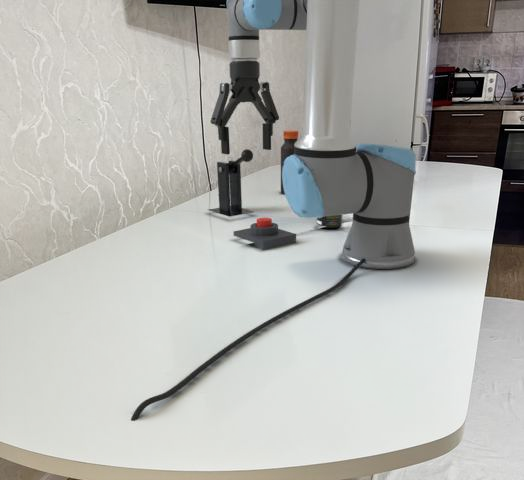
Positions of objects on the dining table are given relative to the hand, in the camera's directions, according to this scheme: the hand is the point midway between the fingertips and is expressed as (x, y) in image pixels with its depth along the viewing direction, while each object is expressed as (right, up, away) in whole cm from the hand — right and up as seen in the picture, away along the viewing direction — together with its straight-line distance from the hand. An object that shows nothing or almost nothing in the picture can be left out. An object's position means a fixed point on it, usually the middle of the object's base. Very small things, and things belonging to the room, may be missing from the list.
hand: (246, 151), depth 140 cm
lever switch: (-5, -13, +15) cm, 20 cm away
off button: (+5, -23, -14) cm, 27 cm away
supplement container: (+22, -21, -1) cm, 30 cm away
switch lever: (-2, -3, +5) cm, 6 cm away
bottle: (+14, +2, +44) cm, 46 cm away
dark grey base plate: (+5, -26, -12) cm, 29 cm away
